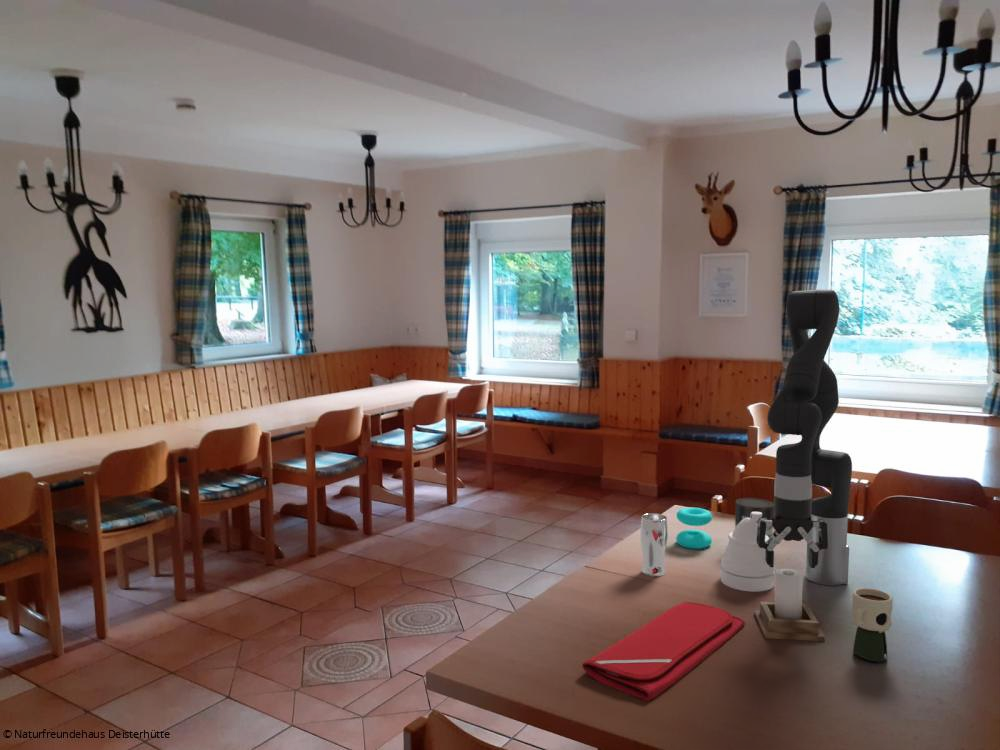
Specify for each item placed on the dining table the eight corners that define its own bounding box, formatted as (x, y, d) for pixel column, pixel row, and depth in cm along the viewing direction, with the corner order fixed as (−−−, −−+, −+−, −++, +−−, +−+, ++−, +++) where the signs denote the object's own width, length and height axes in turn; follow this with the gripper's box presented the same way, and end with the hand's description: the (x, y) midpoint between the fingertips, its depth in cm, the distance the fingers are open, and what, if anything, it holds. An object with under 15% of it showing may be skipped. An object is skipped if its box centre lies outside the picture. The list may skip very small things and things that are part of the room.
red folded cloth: (746, 628, 166) (746, 612, 165) (651, 705, 135) (652, 686, 135) (681, 609, 176) (681, 594, 176) (579, 677, 145) (579, 658, 145)
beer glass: (669, 577, 195) (670, 520, 193) (642, 577, 195) (643, 520, 193) (664, 567, 202) (665, 513, 200) (638, 567, 202) (638, 513, 200)
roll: (796, 616, 168) (797, 567, 167) (805, 627, 162) (806, 577, 161) (771, 616, 168) (771, 568, 167) (779, 627, 163) (779, 577, 161)
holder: (809, 617, 170) (809, 602, 170) (824, 641, 158) (825, 625, 158) (754, 614, 172) (754, 599, 171) (765, 638, 160) (765, 622, 159)
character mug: (873, 672, 145) (876, 607, 144) (838, 658, 151) (840, 595, 150) (901, 655, 152) (904, 593, 150) (866, 642, 157) (869, 582, 156)
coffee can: (773, 558, 207) (774, 508, 206) (734, 555, 210) (735, 506, 209) (771, 546, 217) (772, 498, 216) (734, 543, 220) (735, 496, 219)
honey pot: (766, 573, 197) (768, 506, 195) (780, 592, 184) (782, 520, 182) (716, 572, 198) (717, 505, 196) (726, 591, 185) (727, 519, 183)
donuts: (671, 512, 217) (683, 504, 226) (671, 546, 218) (682, 536, 227) (706, 517, 212) (716, 509, 221) (705, 552, 213) (715, 542, 222)
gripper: (822, 489, 164) (820, 561, 166) (754, 488, 166) (753, 559, 168) (833, 499, 157) (830, 574, 159) (762, 498, 159) (760, 572, 161)
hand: (791, 566), depth 163 cm, fingers open, 8 cm apart
